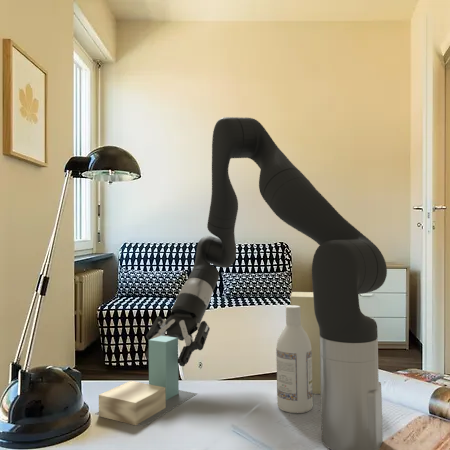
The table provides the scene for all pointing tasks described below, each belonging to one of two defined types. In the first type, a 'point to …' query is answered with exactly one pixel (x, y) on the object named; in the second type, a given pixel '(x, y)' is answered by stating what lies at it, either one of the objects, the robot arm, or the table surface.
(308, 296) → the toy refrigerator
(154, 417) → the mat
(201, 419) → the table surface
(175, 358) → the pillar
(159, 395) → the base block
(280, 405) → the bath foam
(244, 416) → the table surface
